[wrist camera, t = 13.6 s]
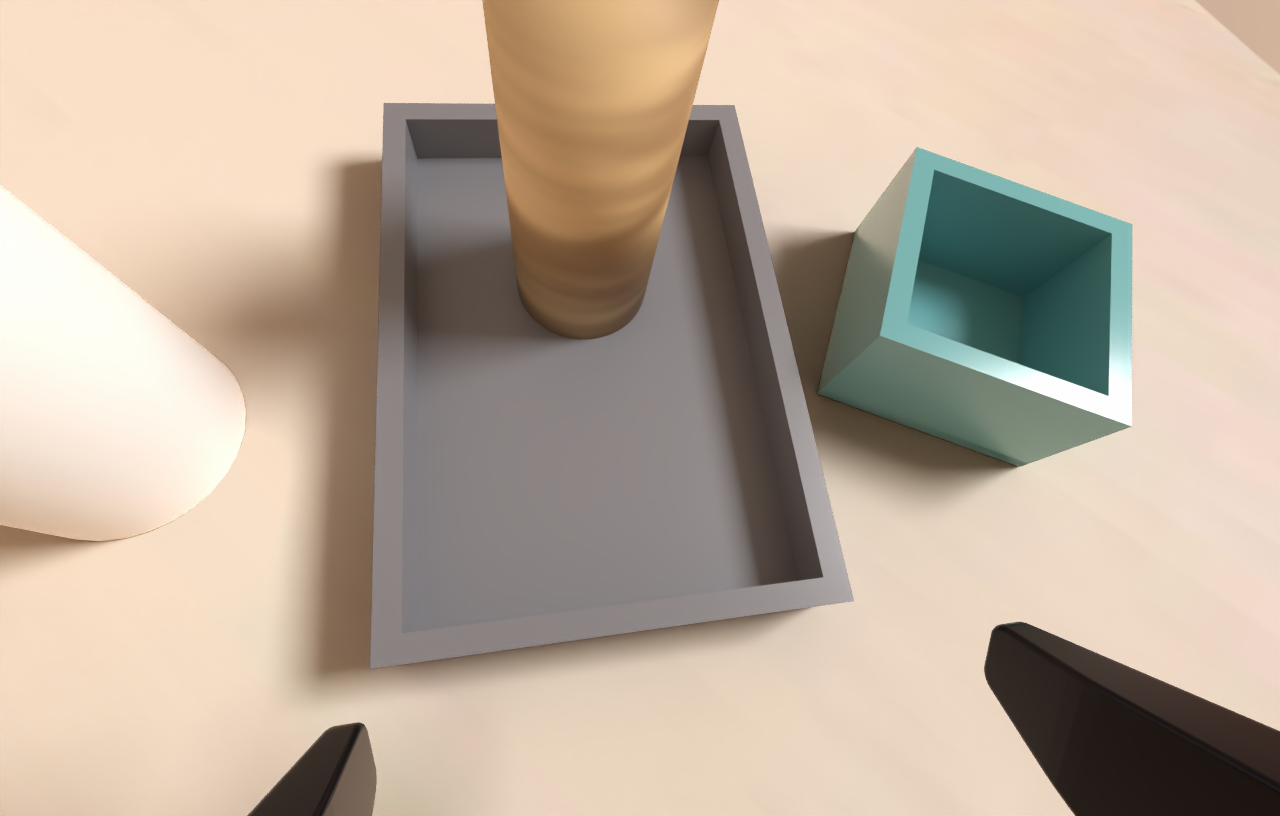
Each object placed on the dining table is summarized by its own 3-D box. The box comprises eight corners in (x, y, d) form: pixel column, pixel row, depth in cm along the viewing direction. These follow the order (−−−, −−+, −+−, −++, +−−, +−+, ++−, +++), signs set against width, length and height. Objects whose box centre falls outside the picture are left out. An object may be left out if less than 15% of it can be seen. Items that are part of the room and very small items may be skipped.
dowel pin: (593, 363, 22) (627, 88, 11) (489, 288, 23) (421, -49, 11) (669, 277, 24) (766, -37, 13) (572, 208, 24) (582, -149, 13)
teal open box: (1019, 466, 24) (1131, 426, 19) (816, 393, 24) (879, 335, 19) (1033, 295, 27) (1132, 224, 22) (855, 231, 27) (916, 147, 22)
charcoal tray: (817, 605, 21) (853, 601, 18) (397, 663, 18) (369, 669, 16) (717, 155, 27) (734, 105, 25) (402, 157, 25) (384, 103, 22)
